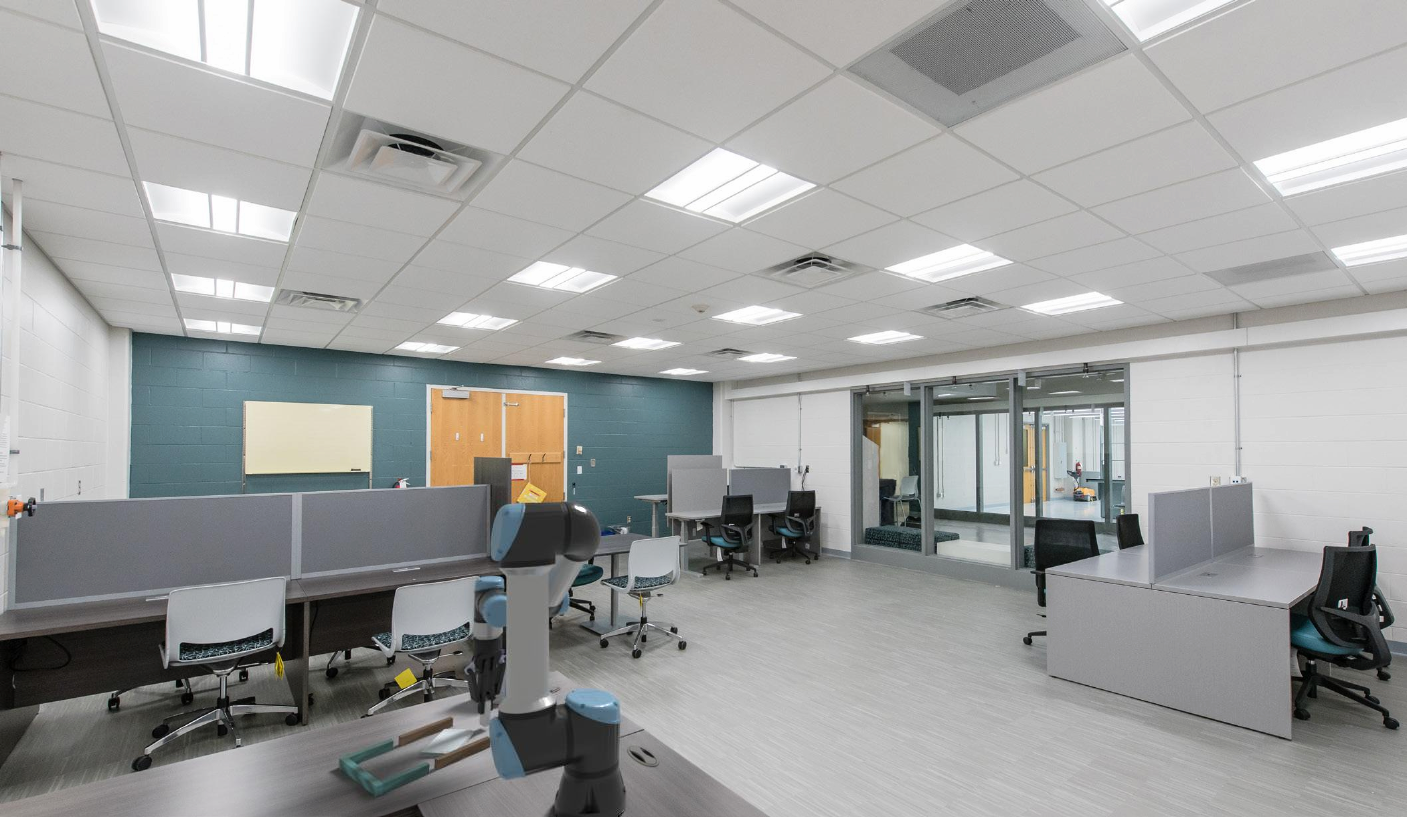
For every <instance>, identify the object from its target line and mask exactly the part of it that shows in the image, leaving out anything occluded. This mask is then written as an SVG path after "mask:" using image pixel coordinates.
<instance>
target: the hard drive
mask: <svg viewBox="0 0 1407 817" xmlns="http://www.w3.org/2000/svg"><path fill="white" fill-rule="evenodd" d="M474 734H475V733H474V730H473V729H458V728H457V729H455V728H454V729H453V728H447V729H444V730H442V731H440V733H439V734H438V735H436V737H434V738H433V740H431V741H430V742H429V743H428V744H427V745H426V746H425V747H424V749H422V750H421V751H420V752H419V757H420V758H437V757H439V756H442V755H444V754H446V753H449V752H451V751H453V750H456V749H458V748H461V747H463V746H465V745H466V743H467V742H468V741H469V740H470V738H471V737H472V736H473V735H474Z"/></svg>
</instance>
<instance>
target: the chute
mask: <svg viewBox="0 0 1407 817" xmlns="http://www.w3.org/2000/svg"><path fill="white" fill-rule="evenodd" d="M452 727H454V717H452V716H449V717H448V716H447V717H446V718H443V719H440V720H437V721H435V722H433V723H429V724H427V725H424V726H421V727H419V728H416V729H414V730H410V731H408V732H405V733H402V734H400V735H398V746H400V747H403V746H405V745H408V744H412V743H413V742H416V741H418V740H421V739H424V738H426V737H430V736H432V735H435V734H437V733H439V732H440V733H441V732H442V731H443V730H444V729H451V728H452ZM488 747H489V748H491V744H490V736H485V737H482V738H480V739H477V740H475V741H473V742H469V743H467V744H464V745H463V746H462V747H461V748H458V749H456V750H453V751H451V752H449V753H446V754H444V755H442V756H439V757H434V763H433V765H434V766H433V767H434V769H435V770H437V771H438V770H440V769H443V768H446V767H447V766H450V765H452V764H454V763H457V762H459V761H462V760H463V759H465V758H468V757H470V756H473V755H475V754H477V753H480V752H481V751H484V750H486V749H489V748H488ZM393 750H394V740H393V739H392V738H390V739H386V740H383V741H381V742H379V743H376V744H373V745H370V746H368V747H364V748H363V749H359V750H358V751H355V752H352V753H349V754H346V755H343V756H341V757H339V758H338V768H339V770H341V771H342V772H343V773H345V774H346V775H348V776H349V777H350V779H352V780H354V781H355V782H356V783H357V784H358V785H360V786H361V787H363V788H364V789H365V790H366V791H367V792H369V793H370V794H371V795H372V796H374V797H375V798H377V797H380V796H382V795H384V794H387V793H388V792H391V791H392V790H395V789H397V788H400V787H401V786H404V785H408V784H409V783H411V782H414V781H416V780H418V779H420V778H423V777H425V776H427V775H429V774H430V763H429V762H428V761H425V762H424V763H421V764H418V765H416V766H414V767H410V768H409V769H407V770H404V771H402V772H399V773H397V774H395V775H393V776H390V777H387V778H385V779H383V780H379V779H377V778H376V777H375V776H373V775H372V774H371V773H369V772H368V771H366V770H365V769H364V768H363V767H361V766H360V765H359V763H362V762H365V761H367V760H370V759H372V758H374V757H377V756H381V755H383V754H385V753H388V752H391V751H393ZM479 751H480V752H479Z"/></svg>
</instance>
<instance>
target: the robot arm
mask: <svg viewBox="0 0 1407 817" xmlns="http://www.w3.org/2000/svg"><path fill="white" fill-rule="evenodd" d="M492 525H493V526H492V529H491V536H490V557H491V559H492V560H493V561H495V562H498V570H499V571H500V572H502V574H503V575H505V577H506V591H505V579H504V578H503V577H501V576H499V575H498V576H495V575H489V576H482V577H479V578H477V579H476V580H475V583H474V590H473V594H474V596H473V598H474V600H473V601H474V602H473V604H474V605H473V636H474V637H473V638H472V653H473V654H472V657H471V662H470V663H469V664H468V665H467V666H464V667H463V668H462V672H464V674H465V676H466V680H467V687H468V690H469V696H470V700H472V702H473V701H474V702H475V703H477V713H478V714H479V725H480V726H482V727H484V728H487V727H488V733H489V736H488V737H490V748H491V749H490V751H491V754H492V759H493V760H492V761H493V762H494V766H495V770H496V771H497V774H498V776H499V777H500V778H501V779H502V780H505V781H508V780H514V779H515V780H516V779H520V778H522V779H523V778H526V777H528V776H529V777H530V776H533V775H537V774H541V773H543V772H546V771H551V770H554V769H555V770H556V769H558V768H562V767H563V772H562V775H561V778H560V782H559V786H558V789H557V791H556V793H555V796H554V814H556V815H557V816H556V815H555V816H556V817H617V816H618V815H620V814H621V813H622V811H623V810H624V809H625V810H626V808H627V796H628V795H627V789H626V786H625V783H624V778H623V775H622V772H621V768H620V743H621V742H620V741H621V740H620V738H621V737H620V736H621V722H622V718H621V705H620V701H619V700H618V698H617V697H616V696H615V695H614V694H612V693H610V692H608V691H604V690H602V689H597V688H579V689H575V690H572V691H571V692H568V693H567V694H566V697H565V698H564V703H560V704H558V700H557V699H558V698H557V696H555V695H554V694H553V693H552V692H551V691H550V624H549V623H550V620H549V619H550V618H552V617H553V618H554V617H557V616H562V615H565V614H566V613H568V610H569V606H570V593H569V591H570V589H571V587H572V585H573V584H574V581H575V580H576V578H577V577H578V575H579V573H580V571H581V570H582V568H583V566H584V565H585V564H586V562H588V561H590V559H593V557H594V555H595V554H596V552H597V551H598V549H599V547H600V544H601V540H602V531H601V526H600V524H599V521H598V518H597V517H596V516H595V514H594V513H593V512H592V511H591V510H590V509H589V508H588V507H586V506H584V505H583V504H580V503H578V502H576V501H570V500H569V501H568V500H567V501H549V502H545V501H544V502H519V503H509V504H504V505H503V506H501V507H500V508H499V509H498V511H497V513H496V516H495V518H494V521H493V524H492ZM504 627H506V629H505V630H506V632H505V633H506V635H505V636H506V637H505V638H506V644H505V645H506V651H505V652H506V653H505V655H504V654H503V655H502V651H501V649H503V635H502V634H503V632H504V630H503V628H504ZM496 667H497V668H496ZM505 669H506V697H505V699H504V700H503V701H502V702H501V703H500V704H498V707H497V708H498V709H497V711H498V713H497V716H494V717H492V718H491V711H493V710H494V703H493V700H495V699H496V697H495V696H496V695H499V694H500V691H501V687H502V682H503V678H504V673H505ZM475 672H476V673H475ZM477 675H478V681H477ZM625 807H626V808H625ZM625 810H624V811H625ZM622 814H623V813H622ZM622 814H621V815H622ZM621 815H620V816H621Z"/></svg>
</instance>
